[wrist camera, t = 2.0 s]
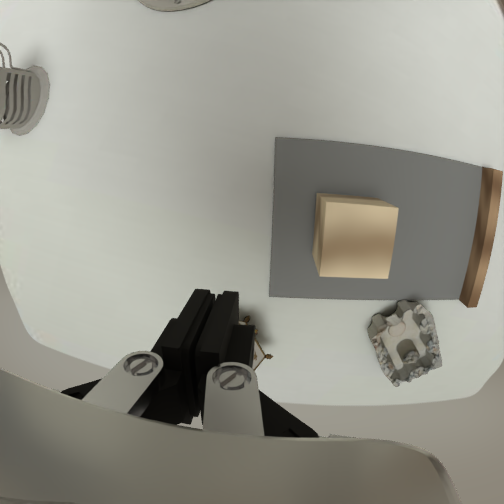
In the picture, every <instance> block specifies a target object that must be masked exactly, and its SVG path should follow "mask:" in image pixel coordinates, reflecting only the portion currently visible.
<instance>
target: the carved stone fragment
mask: <svg viewBox="0 0 504 504" xmlns="http://www.w3.org/2000/svg"><path fill="white" fill-rule="evenodd" d="M397 305H398V306H397V310H396V311H395V312H394V313H393V314H392V315H390V316H388V317H384V316H382V315H380V314H377V315H375V316H373V317H372V324H371V326H370V327H369V328H368V333H369V338H370V340H371V342H372V343H373V345H374V347H375V349H376V353H377V355H378V360H379V362H380V366H381V369H382V371H383V373H384V374H385V376H386V377H387V378H388V379H389V380H390V381H391V382H392V384H393V385H394V386H395V387H398V386H399V385H400V383H401V382H404V381H407V382H411V380H412V379H414V378H418V377H420V376H421V375H424V374H427V373H428V371H429V370H432V369H436V368H439V367H441V366H442V360H441V354H440V351H439V345H438V344H439V341H438V337H437V333H436V329H435V324H434V319H433V316H432V314H431V313H430V312H429V311H428V310H427V309H425V308H424V307H423V306H422V305H421V304H420V305H419V304H418V302H417V301H416V302H408V301H406V300H402V301H399V302H398V303H397Z"/></svg>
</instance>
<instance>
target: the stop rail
mask: <svg viewBox="0 0 504 504" xmlns="http://www.w3.org/2000/svg"><path fill="white" fill-rule="evenodd" d="M502 175H503V172H502V171H499V170H496V169H491V168H484V167H482V179H481V190H480V199H479V207H478V214H477V221H476V227H475V233H474V238H473V244H472V249H471V253H470V258H469V262H468V267H467V271H466V275H465V279H464V283H463V287H462V290H461V294H460V297H459V300H460V301H461V302H462V303H463V304H464V305H465V306H466V307H467V308H470V307H477V304H478V301H479V298H480V294H481V291H482V287H483V284H484V280H485V276H486V273H487V269H488V265H489V260H490V256H491V251H492V247H493V242H494V237H495V231H496V225H497V219H498V212H499V205H500V197H501V187H502Z"/></svg>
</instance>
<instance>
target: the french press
mask: <svg viewBox="0 0 504 504" xmlns="http://www.w3.org/2000/svg"><path fill="white" fill-rule="evenodd" d="M0 45H1V46H2V47H3V48H5V49H6V50H7V52H8V55H9V63H10V67H11V69H10V68H5V63H4V57H3V54H2V52H1V51H0V54H1V57H2V62H3V67H0V129H9V128H10V130H11V131H12V133H14V134H16V135H19V136H21V135H24V134H28V133H29V132H30V131H31V130H32V129H33V128H34V127H35V126H36V125H37V124H38V122H39V120H40V119H41V117H42V115H43V114H44V111H45V108H46V105H47V102H48V99H49V88H50V83H49V78H48V74H47V72H46V71H45V70H44V69H43V68H42V67H38V66H33V67H31V68H28V69H26V70H25V69H20V68H15V67H12V62H11V55H10V52H9V50H8V49H7V47H6V46H5V45H3V44H2V43H0ZM6 81H8V82H7V83H6ZM2 119H4V121H3V122H2V121H1V120H2Z"/></svg>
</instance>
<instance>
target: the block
mask: <svg viewBox="0 0 504 504" xmlns="http://www.w3.org/2000/svg"><path fill="white" fill-rule="evenodd" d="M398 210H399V208H398V207H396V206H393V205H391V204H389V203H387V202H385V201H383V200H381V199H378V198H376V197H368V196H357V195H345V194H332V193H318V192H316V203H315V218H314V231H313V244H312V255H313V258H314V261H315V264H316V267H317V271H318V274H319V277H346V278H376V279H388V276H389V270H390V265H391V259H392V253H393V247H394V240H395V233H396V226H397V218H398Z"/></svg>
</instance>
